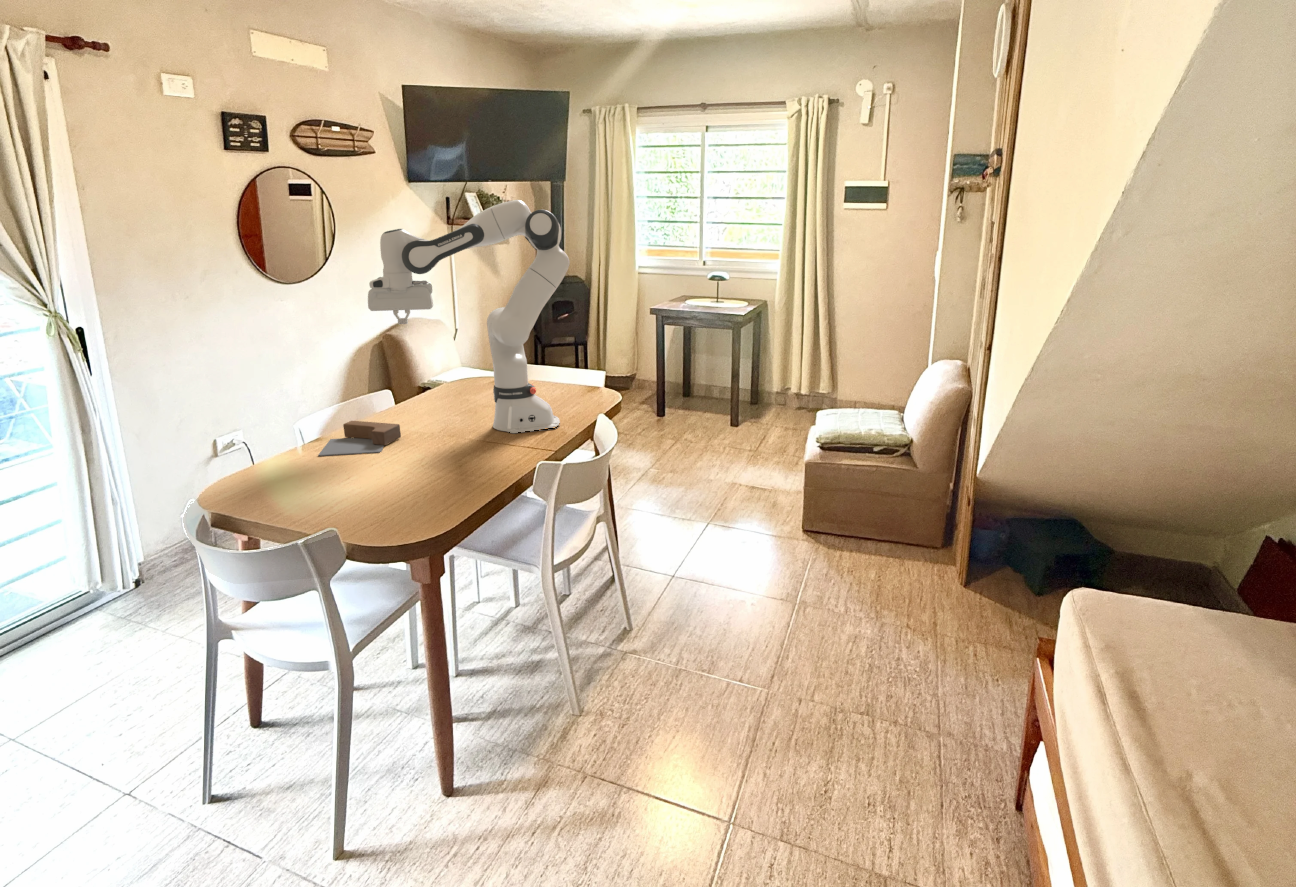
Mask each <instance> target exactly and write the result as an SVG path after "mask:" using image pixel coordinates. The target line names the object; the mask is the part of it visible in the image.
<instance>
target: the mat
mask: <svg viewBox="0 0 1296 887" xmlns="http://www.w3.org/2000/svg"><path fill="white" fill-rule="evenodd" d="M383 447H385V446H384V445H374V444H373V441H372V439H363V438H351V437H343V438H330V439H329V440H328V441H327V443H325V445H324V447H323V448H322V449H321V451H320V452H319V453H318V454H317V456H318V457H329V456H330V457H331V456H332V457H333V456H345V455H347V456H348V455H363V454H362V453H367V454H379V453H380V452H381V453H382V451H383V449H384V448H383ZM381 453H380V454H381Z"/></svg>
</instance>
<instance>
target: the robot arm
mask: <svg viewBox="0 0 1296 887" xmlns="http://www.w3.org/2000/svg"><path fill="white" fill-rule="evenodd" d="M516 236H523V237H524V238H525V239H526V241H527V242H528V243H529V244H530V245H531V247H532V248H533V249H534V250H535V251H537V252H536V255H535V258H534V260H533V262H531V264H530V265H529V266H528V268H527V269H526V271H525V272H524V273H523V275H522V276H521V278H520V279H519V281H517V283H516V284H515V286H514V288H513V291H512V293H511V295H510V298H509V299H508V301H507V303H506V305H505V306H503V307H498V308H495V309H493V310H492V311H491V312H490V313H489V314H488V316H487V319H486V326H487V335H488V341H489V347H490V353H491V358H492V366H493V368H492V369H493V380H494V381H493V382H494V384H493V400H494V403H495V405H494V407H495V408H494V417H493V418H494V419H493V424H492V428H493V429H495V430H497V431H501V432H507V433H509V432H510V434H519V433H518V432H521V433H526V432H525V431H530V432H535V431H534V430H539V429H545V428H553V427H556V426H558V425H559V423H560V424H561V421H560V418H559V417H558V416H556V415H554V413H553V412H554V411H553V409H552V407H551V404H549V403H548V402H547V400H544V399H543V398H541V397H540V396H538V395H536V393H537V388H536V386H535V385H534V384H533V383H532V384H531V383H529V374H528V359H527V357H526V352H525V346H524V344H525V343H526V342H527V341H528V339H529V337H530V333H531V331H532V329H533V328H534V326H535V324H536V322H537V320H538V318H539V316H540V314H541V312H542V310H543V309H544V307H545V306H546V304H547V303H548V302H549V300H550V299H551V297H552V295H553V294H554V293H555V291H556V290H557V288H558V287H559V286H560V284H561V283H562V281H563V280H564V278H565V276H566V275H567V272H568V270H569V268H570V263H571V261H570V258H569V256H568V254H567V253H566V252H565V250H563V249H562V248H561V247H560V246H561V245H562V240H563V237H562V236H563V235H562V227H561V225H560V223H559V220H558V219H557V217H556V216H555V214H553V213H552V212H550V211H549V210H546V209H536V210H533V211H532V212H531V209H530V208H529V206H528V204H526V203H525V201H523V200H521V199H514V200H508V201H505V202H501V203H497V204H495V205H493V206H491V207H490V206H489V207H488V208H486V209H484V210H482V211H480V212H478V213H477V214H475V215H474V216H473V217H471V218H470V219H469V220H467V222H466V223H464V224H463V225H462V226H461V227H458V228H457V229H455V230H453V231H451V232H449V233H446V234H444V235H441V236H439V237H437V238H433V239H430V240H429V239H427V238H426V239H425V238H422V237H419V236H416V235H414V234H412V233H411V232H409V231H408V230H405V229H404V228H396V229H392V230H387V231H384V232H383V233H382V234H381V235H380V241H379V244H380V246H379V247H380V258H381V261H382V263H383V264H382V265H383V269H382V275H383V276H379V277H377V278H375V279H372V280H370V281H369V288H370V289H369V290H368V292H367V308H368V309H369V310H370V312H383V311H387V312H388V311H392V312H393V316H394V317H395V318H396V319H397V324H398V325H408V324H409V320H408V318H409V316H410V315H411V311H416V310H417V311H420V310H421V311H423V310H432V308H433V307H434V300H433V296H432V293H433V286H432V284H431V282H429V281H427V280H413V274H416V275H424V274H428V273H429V272H430V271H431V270H432V269H433V268H434V267H436V266H437V265H438V263H440V261H441V260H443V259H446V258H448V257H450V256H453V255H454V254H457V253H459V252H461V251H465V250H468V249H471V248H479V247H487V246H488V247H489V246H491V245H495V244H498V243H502V242H504V241H506V240H509V239H512V238H514V237H516ZM400 311H404V314H406V315H405V317H400V315H399V313H400ZM559 426H560V425H559ZM539 431H540V430H539Z"/></svg>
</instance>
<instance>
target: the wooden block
mask: <svg viewBox="0 0 1296 887" xmlns="http://www.w3.org/2000/svg"><path fill="white" fill-rule="evenodd" d="M342 426H343V427H342V428H343V432H344V438H363V439H372V441H373V444H374V445H385V446H386V445H388V444H390V443H392V442H394V441H397V440H398V439H399V438H401V437H402V435H401V434H402V432H401V425H400V424H398V423H389V422H377V421H376V422H375V421H374V422H373V421H362V420H350V421H347V422H345V423H343V425H342Z"/></svg>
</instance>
